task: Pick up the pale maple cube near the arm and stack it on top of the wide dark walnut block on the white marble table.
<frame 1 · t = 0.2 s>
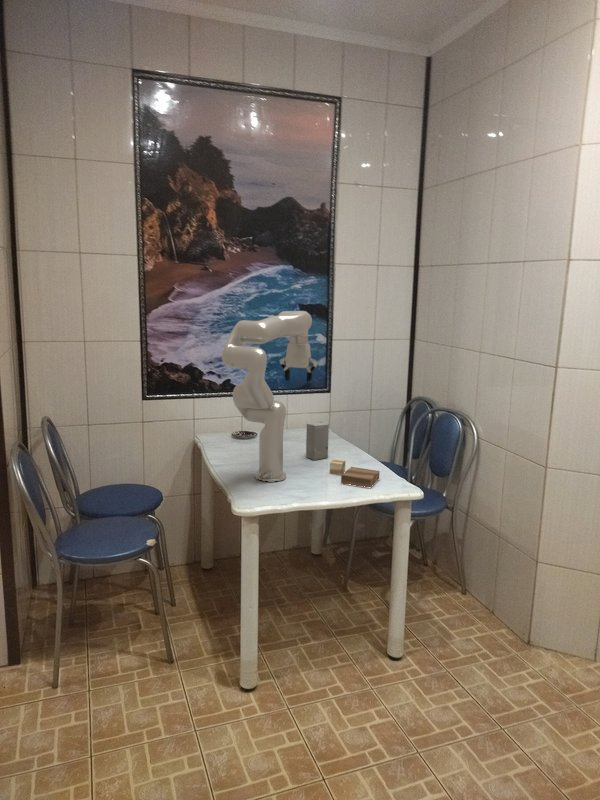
hand: (298, 380, 253), 36 cm above the table, tool pointing down, fingers open, 9 cm apart
skincare box: (316, 457, 267), on the table
walnut block: (360, 482, 236), on the table
maple cube: (337, 473, 246), on the table
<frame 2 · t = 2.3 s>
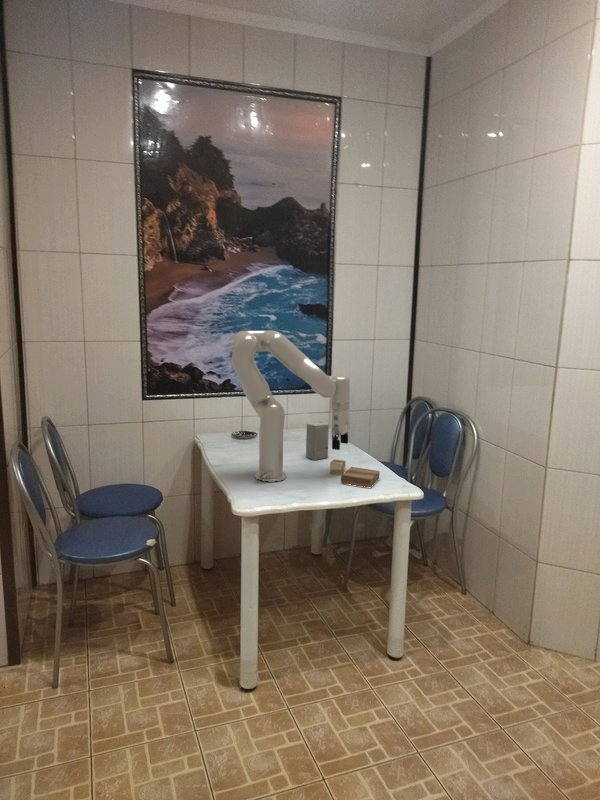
hand: (340, 446, 244), 11 cm above the table, tool pointing down, fingers open, 9 cm apart
nothing on the table moved.
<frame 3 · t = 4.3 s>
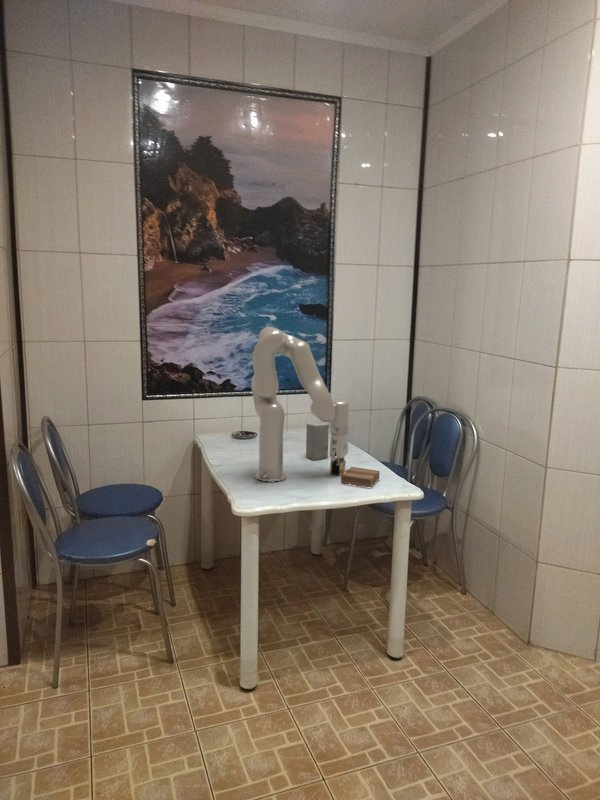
hand: (337, 471, 246), 0 cm above the table, tool pointing down, fingers closed on maple cube, 5 cm apart
maple cube: (337, 472, 246), on the table, touching gripper
everything else where it was.
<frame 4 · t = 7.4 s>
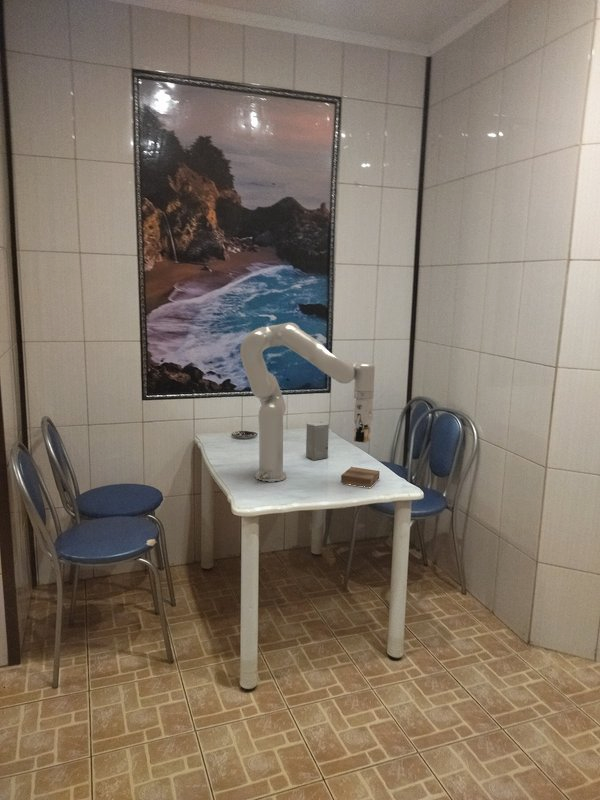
hand: (361, 439, 233), 17 cm above the table, tool pointing down, fingers closed on maple cube, 5 cm apart
maple cube: (361, 440, 233), point 17 cm above the table, touching gripper
everything else where it was.
when the fingers open (5 cm above the table, at t = 10.4 s): maple cube drops 1 cm, resting on walnut block.
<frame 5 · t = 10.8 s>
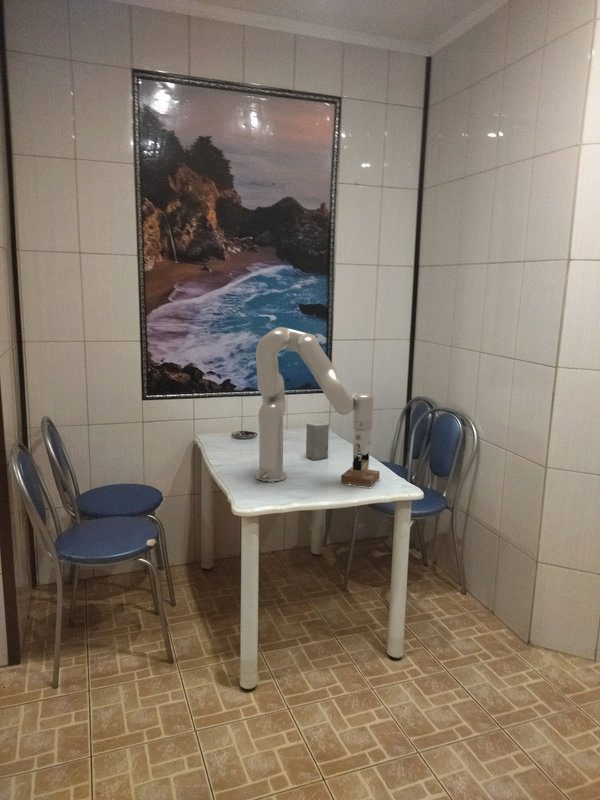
hand: (360, 466, 235), 6 cm above the table, tool pointing down, fingers open, 9 cm apart
walnut block: (360, 482, 236), on the table, touching maple cube
maple cube: (360, 473, 235), point 3 cm above the table, touching walnut block
everything else where it was.
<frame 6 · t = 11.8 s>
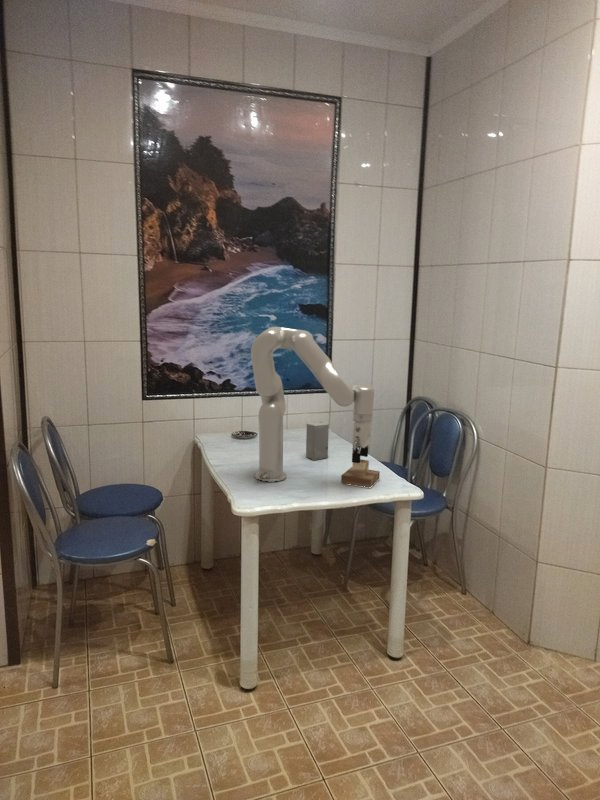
hand: (359, 459, 234), 9 cm above the table, tool pointing down, fingers open, 9 cm apart
nothing on the table moved.
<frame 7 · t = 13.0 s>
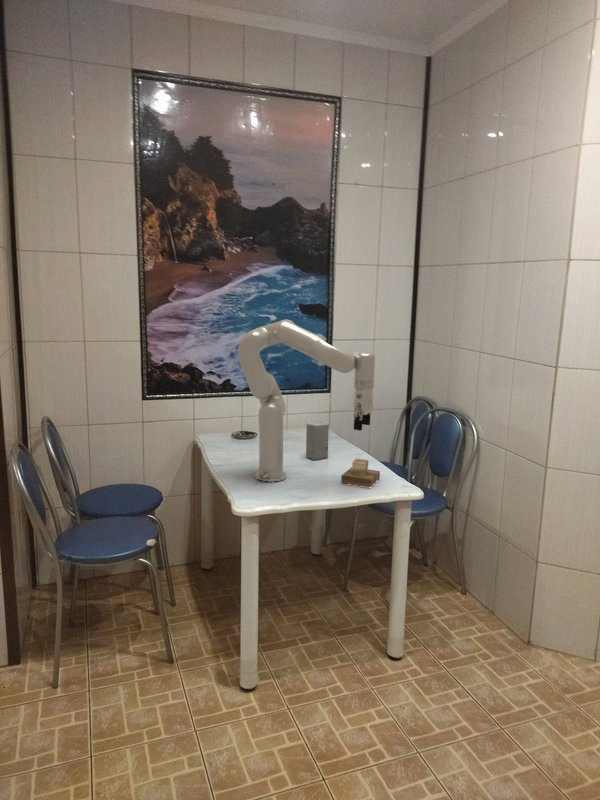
hand: (361, 427, 232), 22 cm above the table, tool pointing down, fingers open, 9 cm apart
walnut block: (360, 482, 236), on the table
maple cube: (360, 473, 236), point 3 cm above the table
everything else where it was.
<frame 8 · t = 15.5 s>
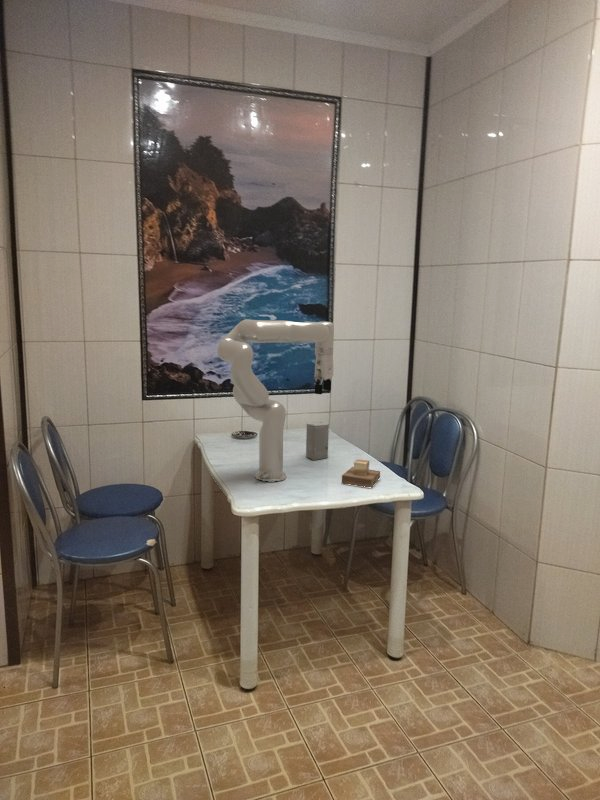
hand: (322, 392, 249), 32 cm above the table, tool pointing down, fingers open, 9 cm apart
walnut block: (360, 482, 236), on the table, touching maple cube
maple cube: (361, 473, 235), point 3 cm above the table, touching walnut block
everything else where it was.
at the end: maple cube 0.2 cm off-centre on the walnut block, point 4.0 cm above the walnut block's base; maple cube tilted 0°; the gripper is holding nothing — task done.
